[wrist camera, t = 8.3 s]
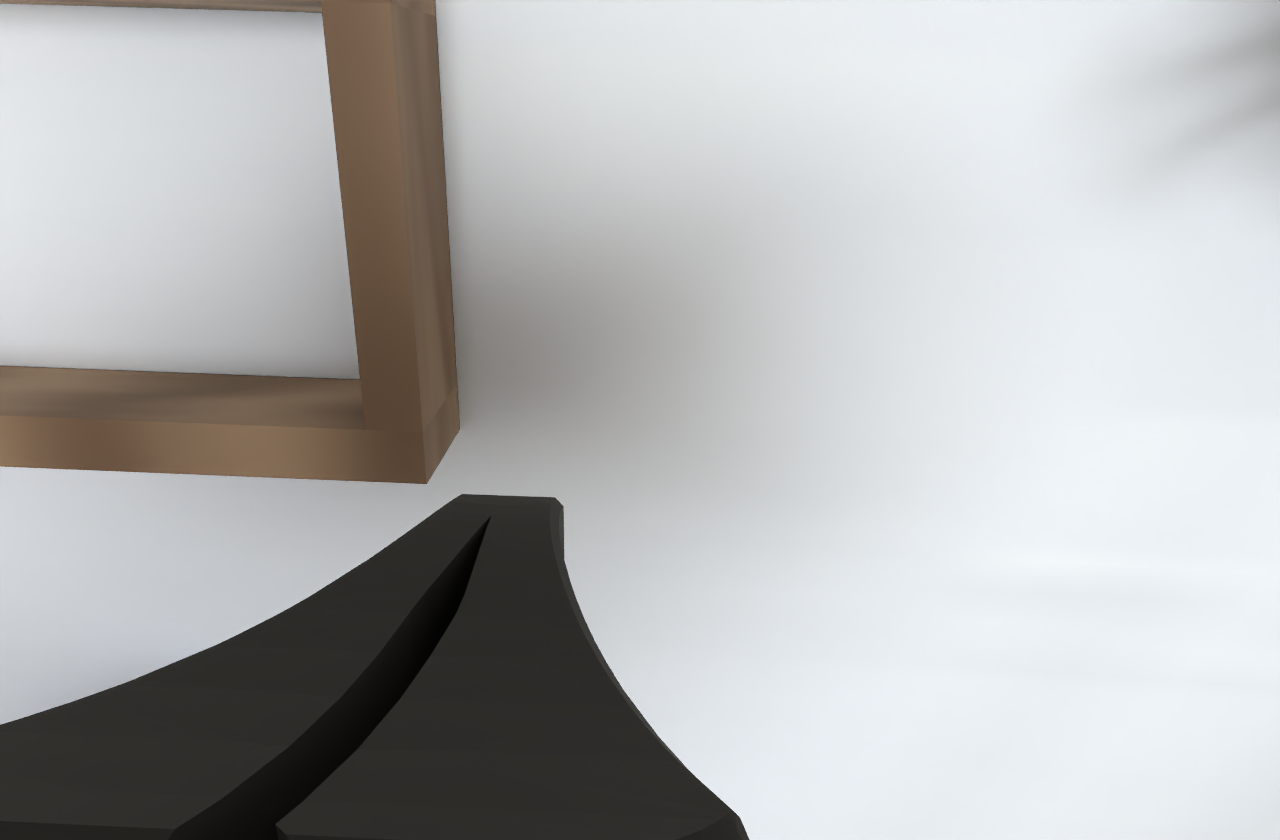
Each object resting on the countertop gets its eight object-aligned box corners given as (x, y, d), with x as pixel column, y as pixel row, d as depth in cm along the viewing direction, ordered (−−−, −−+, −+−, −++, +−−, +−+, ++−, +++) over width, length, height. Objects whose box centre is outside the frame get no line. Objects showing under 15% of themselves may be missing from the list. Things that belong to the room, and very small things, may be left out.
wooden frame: (432, -51, 17) (383, -77, 14) (459, 429, 21) (426, 483, 18) (-234, -70, 17) (-411, -98, 14) (-82, 407, 21) (-197, 458, 18)
